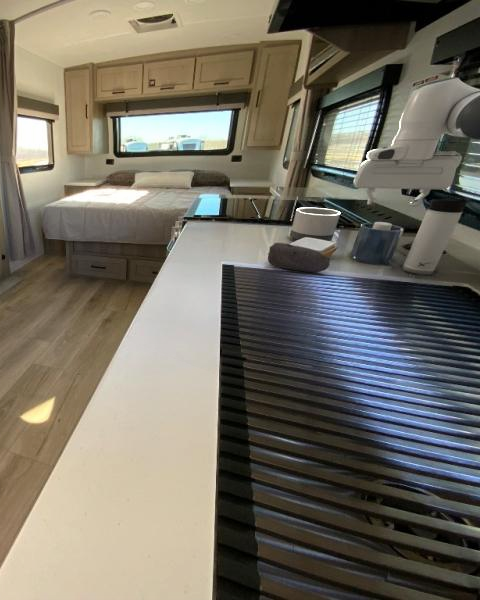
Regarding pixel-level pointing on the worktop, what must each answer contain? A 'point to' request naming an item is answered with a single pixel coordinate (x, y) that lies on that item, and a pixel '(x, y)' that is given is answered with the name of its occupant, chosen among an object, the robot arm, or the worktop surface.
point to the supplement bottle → (382, 226)
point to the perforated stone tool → (297, 258)
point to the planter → (314, 223)
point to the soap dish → (317, 245)
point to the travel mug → (434, 235)
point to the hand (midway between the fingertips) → (391, 205)
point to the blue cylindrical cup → (375, 244)
